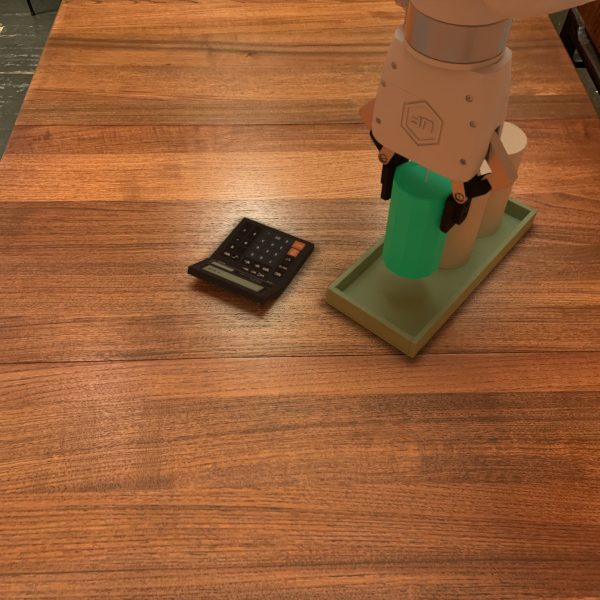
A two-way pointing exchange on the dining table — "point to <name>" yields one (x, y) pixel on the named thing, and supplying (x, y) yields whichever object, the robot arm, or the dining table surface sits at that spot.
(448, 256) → the cream candle
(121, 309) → the dining table surface
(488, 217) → the cream candle
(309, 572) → the dining table surface
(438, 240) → the candle
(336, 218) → the dining table surface
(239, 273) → the calculator
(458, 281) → the tray
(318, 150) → the dining table surface
